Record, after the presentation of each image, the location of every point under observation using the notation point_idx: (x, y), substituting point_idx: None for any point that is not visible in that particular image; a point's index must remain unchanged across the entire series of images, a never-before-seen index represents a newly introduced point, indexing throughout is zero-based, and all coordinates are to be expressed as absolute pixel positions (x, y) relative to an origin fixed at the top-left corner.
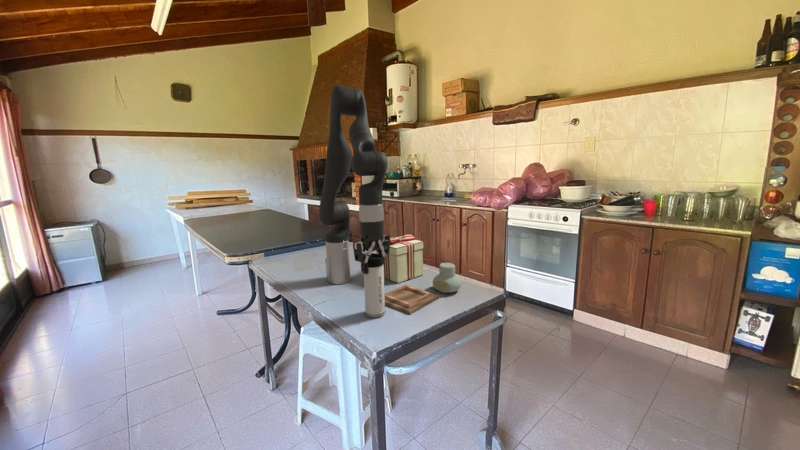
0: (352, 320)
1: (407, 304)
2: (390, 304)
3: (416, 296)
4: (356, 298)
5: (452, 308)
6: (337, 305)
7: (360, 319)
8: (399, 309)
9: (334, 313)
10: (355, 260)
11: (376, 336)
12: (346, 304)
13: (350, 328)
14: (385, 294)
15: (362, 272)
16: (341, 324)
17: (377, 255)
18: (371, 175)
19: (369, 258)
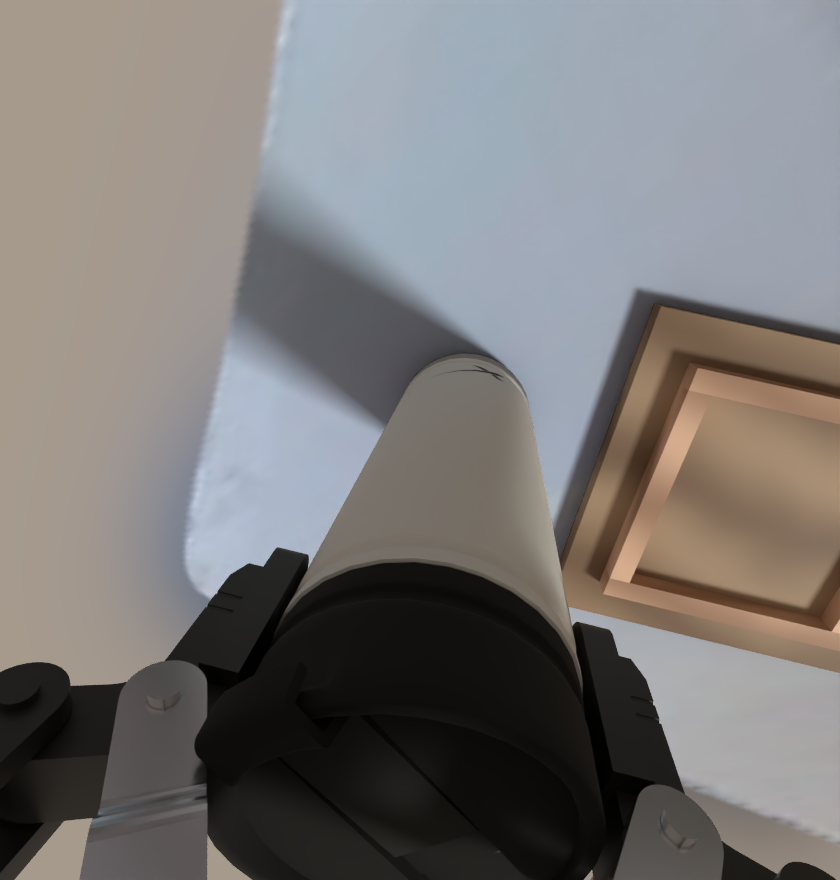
0: (323, 332)
1: (609, 577)
2: (603, 456)
3: (791, 560)
4: (641, 108)
5: (709, 742)
6: (447, 46)
7: (359, 370)
8: (575, 522)
9: (329, 140)
10: (7, 677)
11: (271, 537)
12: (498, 112)
13: (249, 381)
14: (717, 374)
15: (277, 551)
16: (249, 302)
17: (537, 838)
18: None
19: (292, 796)
